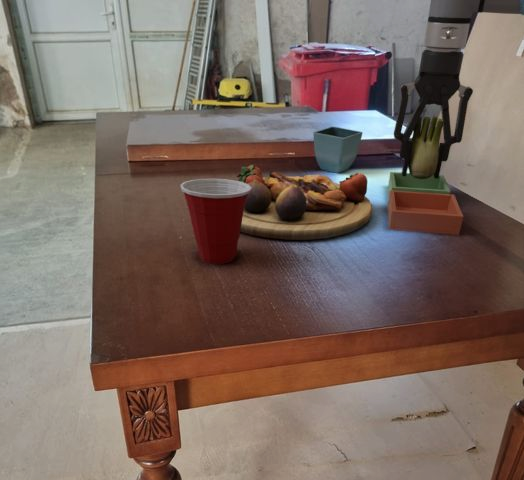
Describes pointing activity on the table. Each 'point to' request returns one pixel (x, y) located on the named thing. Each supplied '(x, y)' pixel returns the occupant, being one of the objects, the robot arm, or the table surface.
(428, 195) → the terracotta bin
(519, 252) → the table surface
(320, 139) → the flower pot
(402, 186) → the green bin
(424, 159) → the fennel bulb
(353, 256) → the table surface
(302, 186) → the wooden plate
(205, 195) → the plastic cup
